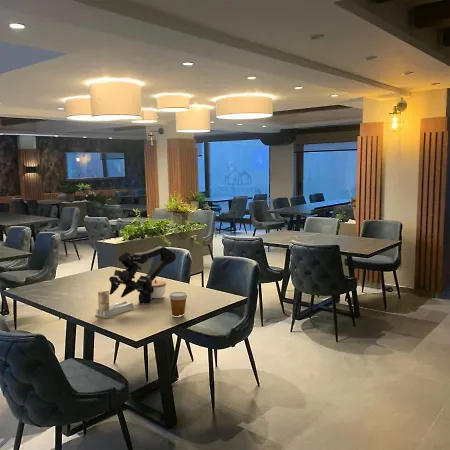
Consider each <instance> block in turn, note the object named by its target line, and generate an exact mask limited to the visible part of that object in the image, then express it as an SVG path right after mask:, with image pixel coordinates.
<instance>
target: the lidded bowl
mask: <svg viewBox="0 0 450 450" xmlns="http://www.w3.org/2000/svg"><path fill="white" fill-rule="evenodd" d="M152 287H153V288H154V291H153V293H151V298H160V299H162V298H161V297H164V295H165V294H166V290H167V282H166V281H164V280H159V279H158V280H157V279H154V280H153V281H152Z"/></svg>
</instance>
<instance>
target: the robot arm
mask: <svg viewBox="0 0 450 450" xmlns="http://www.w3.org/2000/svg"><path fill="white" fill-rule="evenodd" d="M157 256H160V258H159V261H157V263H156V264H155V265H154V266H153V268H151V270H150V271H148V273H147V274H146V275H140V276H139V277H138V278H137V279H136V276H135V275H136V274H137V273H138V271H142V267H141V266H142V265H143V264H145V263H147V262H148V261H149V259H152V258H154V257H157ZM176 258H177V255H176V253H175V252H173V251H171V250H170V249H168V248H166V247H165V246H161V245H159V246H156V247H154V248H152V249H149V250H147V251H142V252H140V251H139V252H133V254H132V255H131V254H130V253H129V252H126V251H125V252H124V253H122V254H121V255H120V256H119V257H118V262H119V263H120V264H121V265H122V266H123V267H124V268H125V269H123V270H120V269H119V270H118V269H115V270H114V273H113V275H111V276H110V277H109V278H108V280H109V283H110V290H109V296H111V295H113V294H114V293H115V292H116V291H117V289H119V287H120V286H121V285H125V288H124V289H123V292H122V293H121V295H120V298H124V297H126V296H127V295H129V294H130V293H133V292H134V291H136V292H137V293H139V294H138V303H150V304H152V302H153V301H152V300H153V299H151V293H153V291H154V288H153V287H152V281H155V280H156V278H157V277H158V275H159V274H161V272H162V271H163V270H164V268H165V267H166V266H168V265H172V263H174V262H175V261H176ZM139 264H140V265H139ZM133 279H136V280H133Z"/></svg>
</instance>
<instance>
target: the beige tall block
mask: <svg viewBox="0 0 450 450" xmlns="http://www.w3.org/2000/svg"><path fill="white" fill-rule="evenodd" d="M109 293H110V290H108V289H103V290H99V291H98V292H97V295H98V296H97V298H98V303H97V304H98V309H99V315H102V316H103V311H105V310H108V309H109V305H110V294H109Z"/></svg>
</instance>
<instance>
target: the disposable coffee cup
mask: <svg viewBox="0 0 450 450" xmlns="http://www.w3.org/2000/svg"><path fill="white" fill-rule="evenodd" d="M187 297H188V295H187V293H186V292H184V291H173V292H171V293H170V294H169V297H168V298H169V301H170V307H171V315H174V316H179V315H183V314H184V315H185V312H186V311H185V310H186V303H187Z"/></svg>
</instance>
